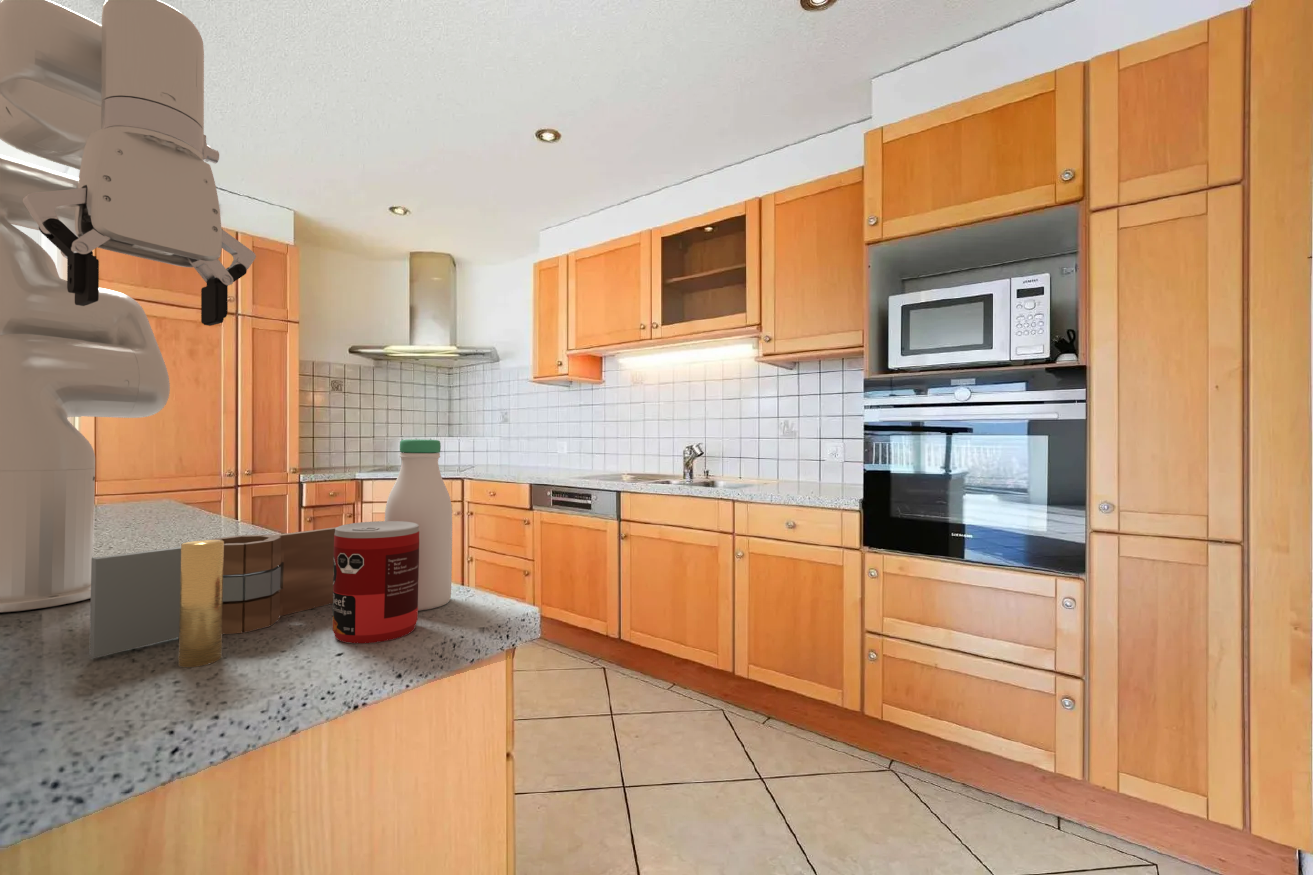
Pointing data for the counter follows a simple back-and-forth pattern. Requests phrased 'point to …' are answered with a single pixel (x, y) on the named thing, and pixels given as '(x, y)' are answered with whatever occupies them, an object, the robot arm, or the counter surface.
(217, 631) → the hinge pin
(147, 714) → the counter surface
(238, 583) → the hinge leaf swing
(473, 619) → the counter surface
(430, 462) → the milk bottle
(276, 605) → the hinge leaf fixed
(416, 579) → the canned food
